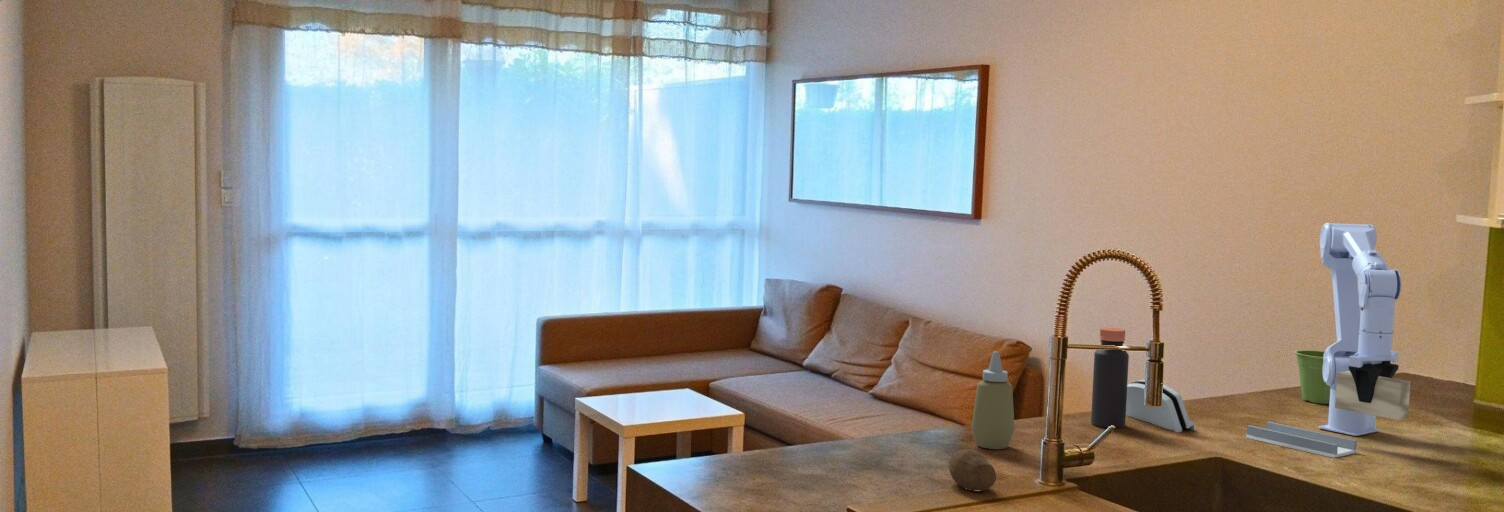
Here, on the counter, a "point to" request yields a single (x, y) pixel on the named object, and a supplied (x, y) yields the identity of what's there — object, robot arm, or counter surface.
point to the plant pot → (1312, 376)
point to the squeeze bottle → (993, 408)
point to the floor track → (1303, 439)
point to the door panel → (1374, 397)
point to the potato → (972, 470)
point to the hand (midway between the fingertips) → (1371, 400)
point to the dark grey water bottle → (1110, 381)
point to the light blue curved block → (1158, 408)
